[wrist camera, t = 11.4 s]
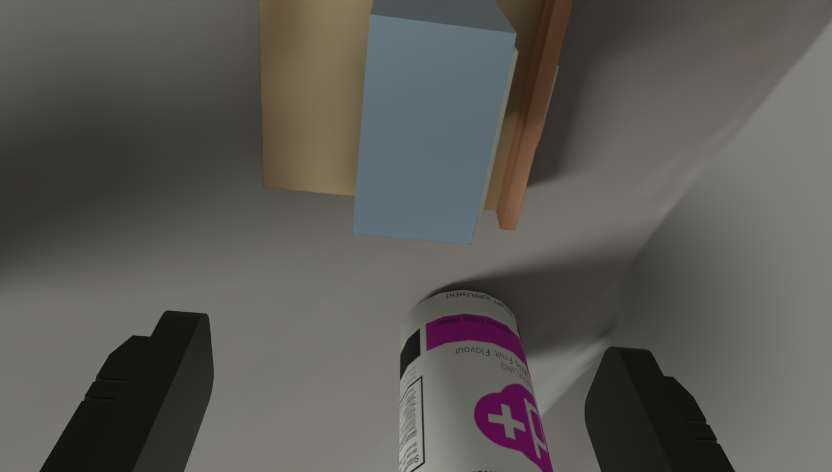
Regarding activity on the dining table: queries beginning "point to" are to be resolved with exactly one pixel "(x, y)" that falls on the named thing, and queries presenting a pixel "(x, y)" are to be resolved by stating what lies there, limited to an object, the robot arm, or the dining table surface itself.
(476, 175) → the carton
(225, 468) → the dining table surface
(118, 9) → the dining table surface
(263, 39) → the wooden plank
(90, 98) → the dining table surface
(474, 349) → the supplement can
